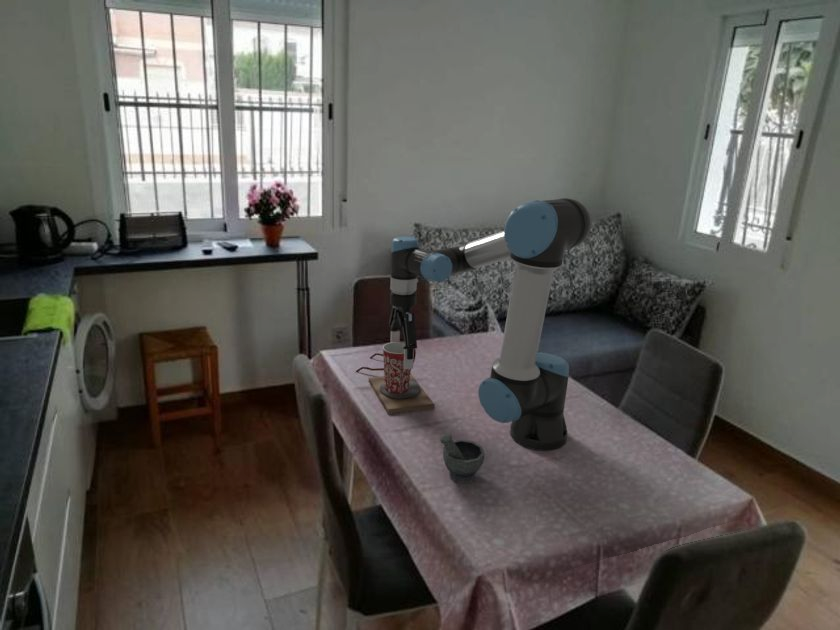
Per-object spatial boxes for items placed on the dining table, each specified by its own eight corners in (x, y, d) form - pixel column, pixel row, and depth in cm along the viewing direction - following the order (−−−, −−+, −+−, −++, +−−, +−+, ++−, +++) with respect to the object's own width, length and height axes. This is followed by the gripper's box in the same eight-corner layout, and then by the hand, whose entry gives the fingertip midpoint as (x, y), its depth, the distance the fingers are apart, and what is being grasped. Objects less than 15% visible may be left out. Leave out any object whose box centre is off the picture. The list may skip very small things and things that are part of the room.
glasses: (391, 379, 195) (392, 365, 193) (354, 373, 198) (354, 359, 197) (404, 364, 207) (405, 351, 205) (369, 358, 210) (369, 345, 209)
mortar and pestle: (470, 461, 150) (474, 418, 146) (489, 482, 142) (494, 437, 138) (429, 470, 146) (432, 426, 142) (447, 492, 138) (450, 446, 134)
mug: (398, 398, 176) (400, 355, 171) (375, 389, 181) (376, 347, 177) (425, 384, 185) (427, 344, 181) (402, 376, 190) (403, 336, 186)
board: (433, 408, 176) (434, 400, 175) (387, 414, 172) (387, 406, 171) (410, 377, 196) (410, 370, 195) (368, 381, 191) (368, 374, 190)
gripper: (430, 303, 163) (427, 375, 170) (403, 279, 186) (401, 343, 192) (404, 304, 161) (401, 377, 168) (379, 280, 183) (378, 345, 190)
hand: (401, 359), depth 180 cm, fingers open, 13 cm apart
